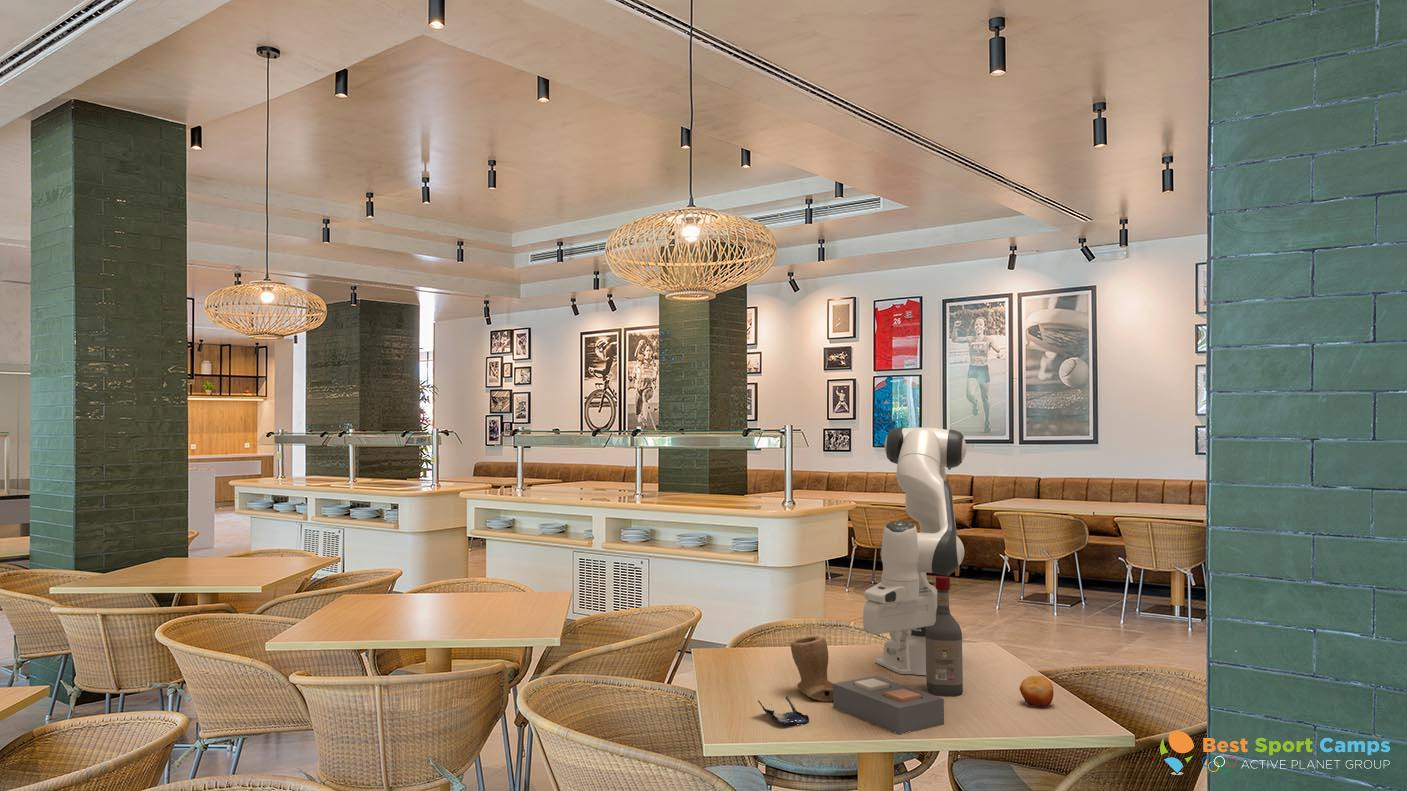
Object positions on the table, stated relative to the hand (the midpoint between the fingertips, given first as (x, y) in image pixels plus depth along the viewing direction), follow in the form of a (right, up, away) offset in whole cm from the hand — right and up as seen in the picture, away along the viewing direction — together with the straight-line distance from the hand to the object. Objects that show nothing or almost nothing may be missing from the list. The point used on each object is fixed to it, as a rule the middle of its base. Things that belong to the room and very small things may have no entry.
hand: (900, 648), depth 227 cm
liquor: (+17, -18, +25) cm, 35 cm away
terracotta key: (0, -14, -1) cm, 14 cm away
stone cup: (-18, -18, +22) cm, 33 cm away
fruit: (+37, -18, +12) cm, 43 cm away
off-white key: (-5, -14, +9) cm, 17 cm away
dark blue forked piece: (-28, -18, +1) cm, 33 cm away
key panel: (-2, -17, +4) cm, 18 cm away
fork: (+4, -19, +21) cm, 28 cm away
